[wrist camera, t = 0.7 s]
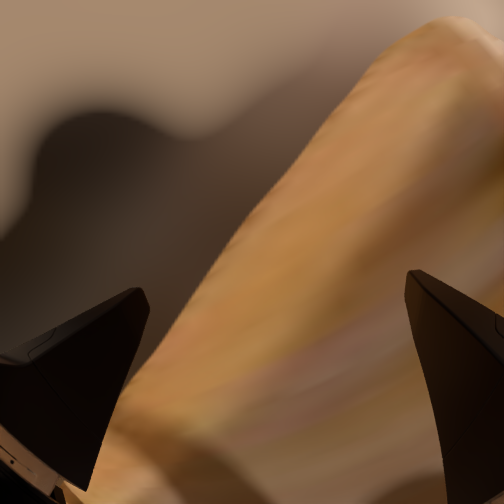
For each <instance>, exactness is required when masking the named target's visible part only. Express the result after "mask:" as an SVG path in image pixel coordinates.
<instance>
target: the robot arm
mask: <svg viewBox="0 0 504 504" xmlns="http://www.w3.org/2000/svg"><path fill="white" fill-rule="evenodd" d="M404 297H405V303H406V307H407V312H408V316H409V321H410V325H411V330H412V335H413V339H414V343H415V346H416V349H417V353H418V356H419V359H420V363H421V366H422V369H423V373H424V377H425V380H426V384H427V388H428V391H429V395H430V399H431V404H432V408H433V412H434V417H435V421H436V426H437V431H438V436H439V441H440V447H441V453H442V458H443V467H444V474H445V482H446V491H447V502H448V504H504V318H503V317H502V316H500V315H498V314H495V312H493V311H492V310H490V309H489V308H487V307H485V306H484V305H482V304H480V303H478V302H477V301H475V300H473V299H472V298H470V297H468V296H466V295H465V294H463V293H461V292H460V291H458V290H456V289H454V288H452V287H451V286H449V285H447V284H445V283H444V282H442V281H440V280H438V279H436V278H434V277H433V276H431V275H429V274H427V273H425V272H423V271H422V270H410V271H408V273H407V276H406V285H405V293H404ZM149 313H150V306H149V303H148V301H147V298H146V296H145V293H144V291H143V290H142V288H140V287H132V288H129V289H127V290H125V291H123V292H122V293H120V294H118V295H116V296H114V297H112V298H110V299H108V300H106V301H104V302H102V303H100V304H98V305H97V306H95V307H93V308H91V309H89V310H87V311H85V312H83V313H81V314H79V315H77V316H76V317H74V318H72V319H70V320H68V321H66V322H65V323H63V324H61V325H59V326H57V327H55V328H53V329H51V330H49V331H48V332H46V333H44V334H42V335H40V336H38V337H36V338H34V339H32V340H30V341H28V342H26V343H24V344H22V345H20V346H18V347H16V348H13V349H11V350H9V351H8V352H5V353H1V354H0V504H66V501H65V498H64V494H63V491H62V489H61V488H59V487H58V486H56V483H57V481H58V479H59V477H60V478H62V479H63V480H65V481H67V482H68V483H70V484H72V485H74V486H76V487H77V488H79V489H81V490H83V491H85V492H86V491H87V489H88V486H89V483H90V479H91V476H92V473H93V469H94V466H95V463H96V460H97V457H98V454H99V451H100V448H101V445H102V441H103V439H104V436H105V433H106V430H107V427H108V424H109V422H110V419H111V416H112V413H113V411H114V408H115V405H116V403H117V400H118V397H119V395H120V392H121V389H122V387H123V384H124V382H125V379H126V377H127V374H128V372H129V369H130V367H131V364H132V362H133V359H134V357H135V355H136V352H137V350H138V347H139V344H140V341H141V338H142V335H143V331H144V329H145V325H146V322H147V319H148V316H149Z"/></svg>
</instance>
